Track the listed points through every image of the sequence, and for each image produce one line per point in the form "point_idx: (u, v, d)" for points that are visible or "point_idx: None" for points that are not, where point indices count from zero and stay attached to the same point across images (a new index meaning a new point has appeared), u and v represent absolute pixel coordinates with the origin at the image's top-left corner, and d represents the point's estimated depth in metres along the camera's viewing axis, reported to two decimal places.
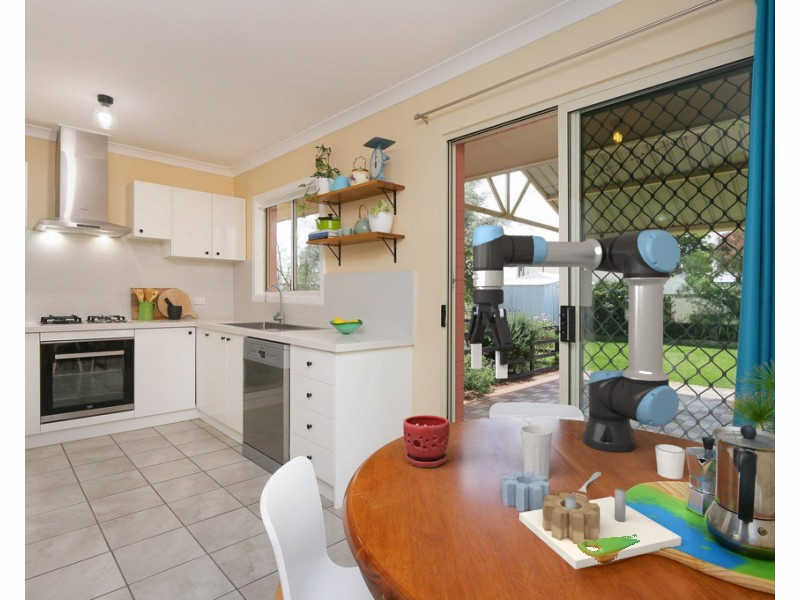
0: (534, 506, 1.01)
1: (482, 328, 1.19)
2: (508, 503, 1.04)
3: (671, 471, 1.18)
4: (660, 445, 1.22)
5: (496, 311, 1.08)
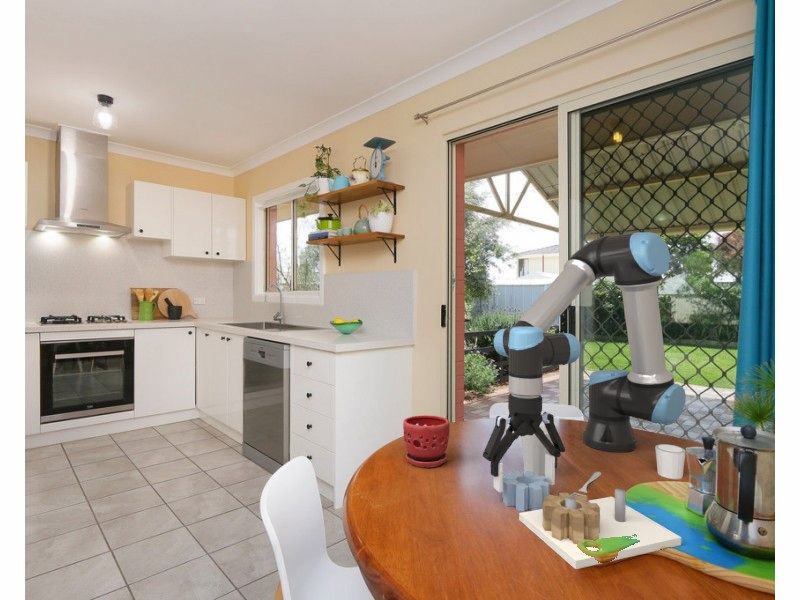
0: (534, 506, 1.01)
1: (539, 438, 1.07)
2: (508, 503, 1.04)
3: (671, 471, 1.18)
4: (660, 445, 1.23)
5: None
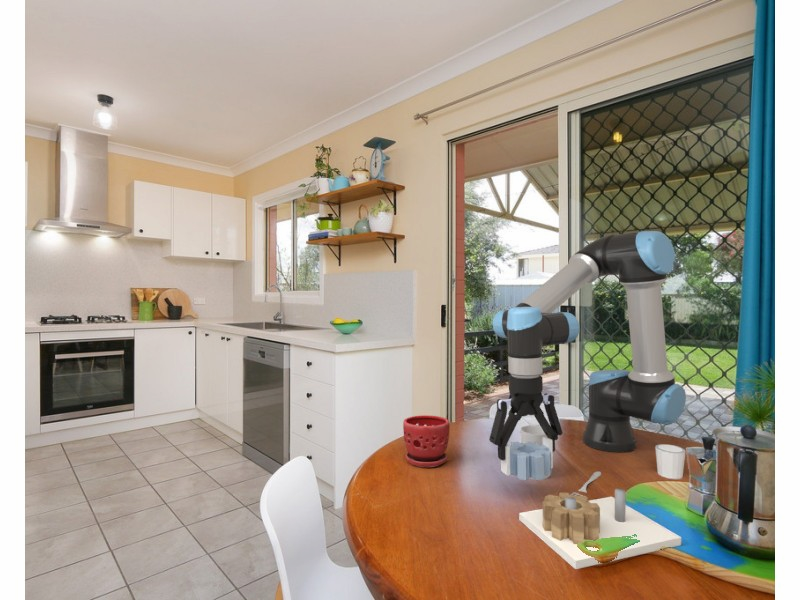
0: (536, 475, 1.01)
1: (538, 419, 1.06)
2: (510, 472, 1.04)
3: (671, 471, 1.18)
4: (660, 445, 1.22)
5: None
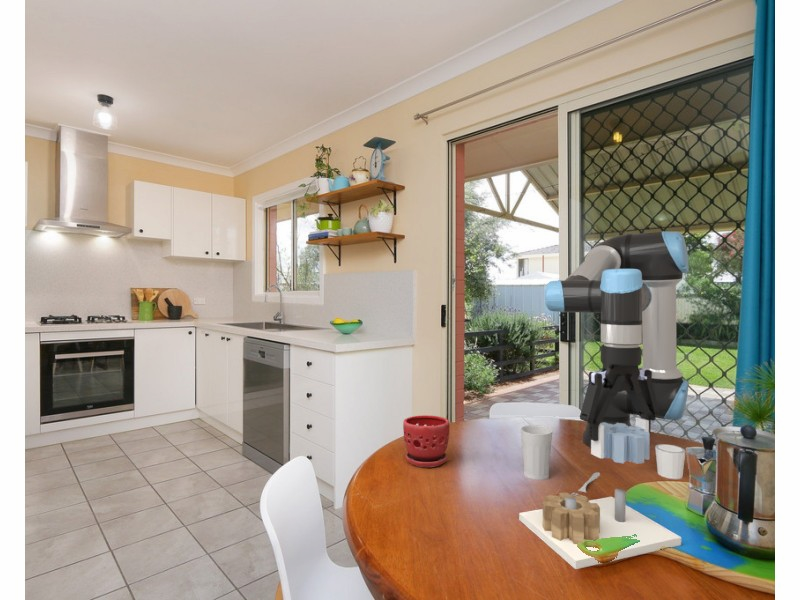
0: (635, 457, 0.89)
1: (634, 396, 0.94)
2: None
3: (671, 471, 1.18)
4: (660, 445, 1.22)
5: None
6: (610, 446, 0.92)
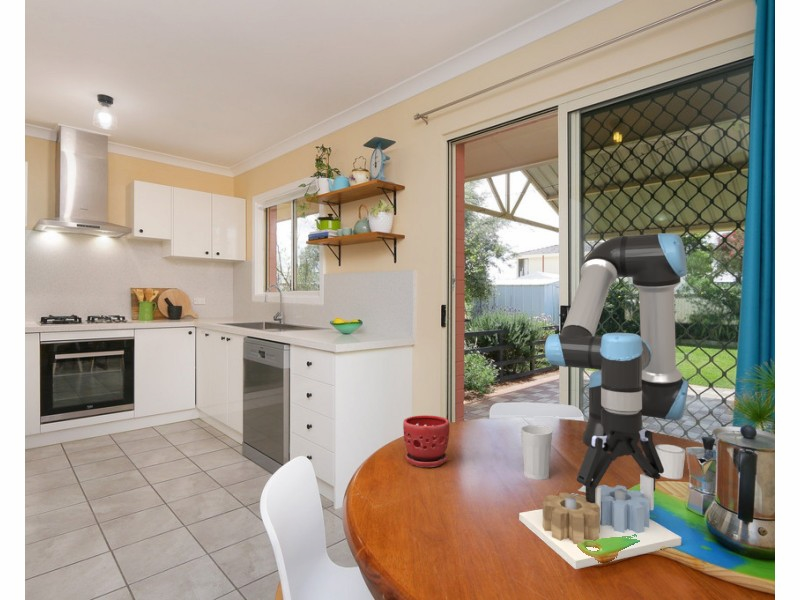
0: (635, 527, 0.89)
1: (636, 457, 0.95)
2: (603, 522, 0.92)
3: (671, 471, 1.18)
4: (660, 445, 1.22)
5: None
6: (610, 514, 0.92)
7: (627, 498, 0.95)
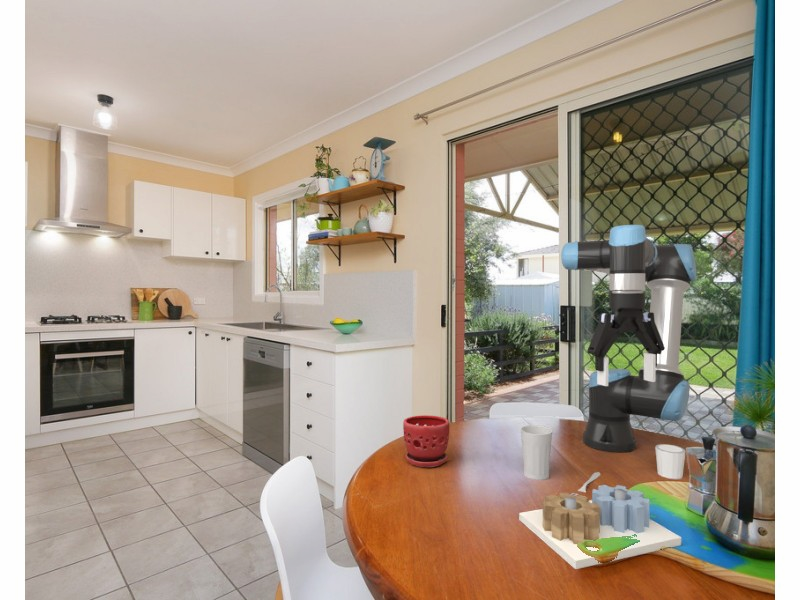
0: (635, 527, 0.89)
1: (640, 336, 1.08)
2: (603, 522, 0.92)
3: (671, 471, 1.18)
4: (660, 445, 1.22)
5: None
6: (610, 514, 0.92)
7: (627, 498, 0.95)
